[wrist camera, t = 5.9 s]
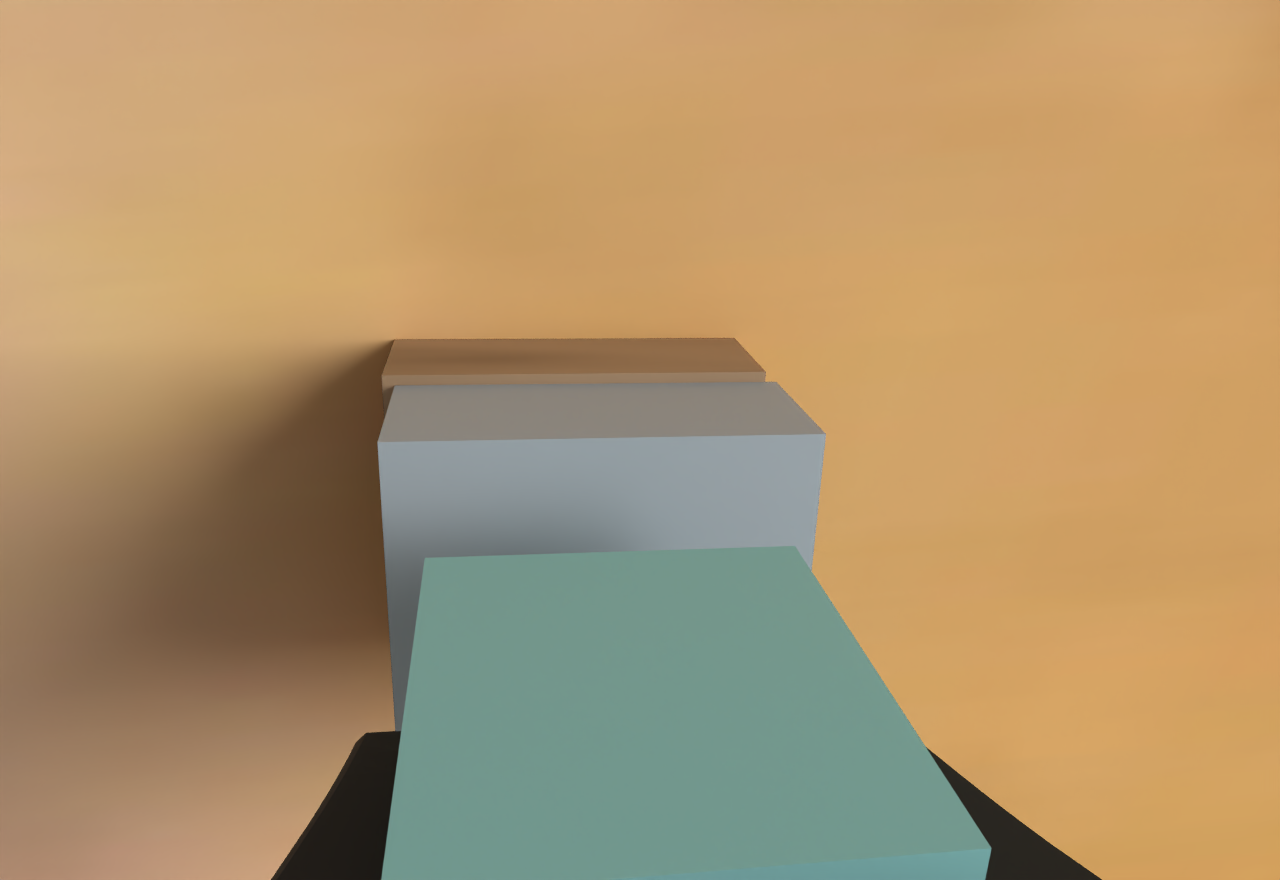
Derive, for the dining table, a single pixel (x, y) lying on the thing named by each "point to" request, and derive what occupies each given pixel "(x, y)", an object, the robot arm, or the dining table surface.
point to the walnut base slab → (566, 362)
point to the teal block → (658, 729)
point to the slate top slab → (587, 477)
